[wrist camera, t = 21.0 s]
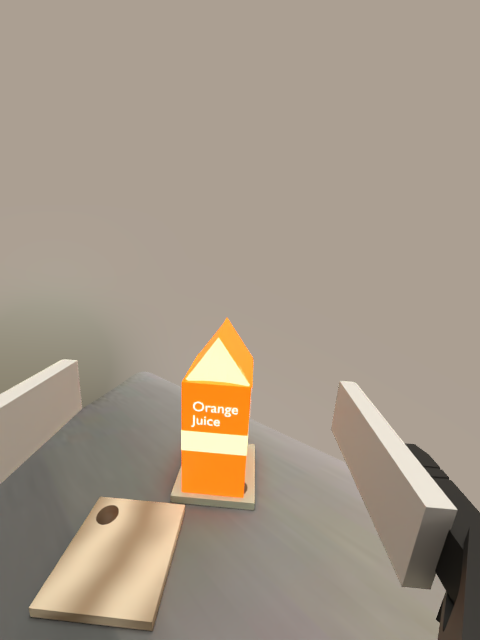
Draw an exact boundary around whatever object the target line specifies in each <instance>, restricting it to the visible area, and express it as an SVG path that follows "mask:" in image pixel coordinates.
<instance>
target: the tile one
mask: <svg viewBox="0 0 480 640" xmlns="http://www.w3.org/2000/svg"><path fill="white" fill-rule="evenodd" d="M184 514H185V505H181V504H170V503H160V502H150V501H139V500H129V499H118V498H108V497H100V498H99V500H98V501H97V503H96V504H95V506H94V507H93V509H92V510H91V512H90V514H89V515H88V517H87V518H86V520H85V521H84V523H83V524H82V526H81V528H80V529H79V531H78V532H77V534H76V535H75V537H74V538H73V540H72V541H71V543H70V545H69V546H68V548H67V549H66V551H65V552H64V554H63V555H62V557H61V559H60V560H59V562H58V563H57V565H56V566H55V568H54V569H53V571H52V573H51V574H50V576H49V577H48V579H47V580H46V582H45V583H44V585H43V587H42V588H41V590H40V591H39V593H38V594H37V596H36V597H35V599H34V601H33V602H32V604H31V605H30V607H29V612H30V617H36V618H45V619H54V620H62V621H71V622H79V623H88V624H97V625H105V626H114V627H122V628H131V629H140V630H148V631H153V627H154V623H155V620H156V616H157V612H158V609H159V605H160V601H161V598H162V594H163V590H164V587H165V583H166V579H167V576H168V572H169V569H170V565H171V561H172V558H173V554H174V550H175V547H176V543H177V539H178V536H179V532H180V528H181V525H182V521H183V517H184Z"/></svg>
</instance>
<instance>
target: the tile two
mask: <svg viewBox="0 0 480 640" xmlns="http://www.w3.org/2000/svg"><path fill="white" fill-rule="evenodd" d="M171 502H172V503H183V504H193V505H204V506H214V507H225V508H235V509H246V510H254V505H255V444H247V456H246V467H245V482H244V496H243V498H239V497H229V496H218V495H208V494H198V493H187V492H182V465H181V468H180V470H179V473H178V476H177V479H176V482H175V485H174V487H173V490H172V493H171Z"/></svg>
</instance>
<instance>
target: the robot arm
mask: <svg viewBox="0 0 480 640" xmlns="http://www.w3.org/2000/svg"><path fill="white" fill-rule="evenodd" d="M81 409H82V402H81V392H80V382H79V372H78V361H77V360H65V359H63V360H60V361H59V362H57V363H55V364H54V365H52V366H50V367H48V368H46V369H44V370H43V371H41V372H39V373H37V374H36V375H34V376H32V377H30V378H29V379H27V380H25V381H23V382H21V383H20V384H18V385H16V386H14V387H12V388H11V389H9V390H7V391H5V392H4V393H2V394H0V484H1V483H2V482H3V481H4V480H5V479H6V478H7V477H8V476H9V475H10V474H12V473H13V472H14V471H15V470H16V469H17V468H18V467H19V466H20V465H21V464H22V463H24V462H25V461H26V460H27V459H28V458H29V457H30V456H31V455H32V454H33V453H34V452H36V451H37V450H38V449H39V448H40V447H41V446H42V445H43V444H44V443H45V442H46V441H48V440H49V439H50V438H51V437H52V436H53V435H54V434H55V433H56V432H57V431H58V430H59V429H61V428H62V427H63V426H64V425H65V424H66V423H67V422H68V421H69V420H70V419H71V418H73V417H74V416H75V415H76V414H77V413H78V412H79V411H80V410H81ZM331 430H332V432H333V434H334V437H335V439H336V441H337V443H338V445H339V448H340V450H341V452H342V454H343V456H344V459H345V461H346V463H347V466H348V468H349V470H350V472H351V475H352V477H353V479H354V481H355V483H356V486H357V488H358V490H359V492H360V495H361V497H362V499H363V501H364V503H365V506H366V508H367V510H368V512H369V515H370V517H371V519H372V521H373V523H374V526H375V528H376V530H377V532H378V535H379V537H380V539H381V541H382V543H383V546H384V548H385V550H386V552H387V555H388V557H389V559H390V561H391V564H392V566H393V568H394V570H395V572H396V575H397V577H398V579H399V581H400V584H401V586H402V587H411V588H421V589H431V586H432V583H433V580H434V577H435V574H437V575H438V577H439V579H440V581H441V582H442V584H443V586H444V588H445V589H446V593H445V596H444V598H443V601H442V604H441V607H440V609H439V612H438V615H437V618H436V620H437V621H438V622H440V627H439V634H438V640H480V513H479V511H478V510H477V509H476V508H475V507H474V506H473V505H472V503H471V502H470V501H469V500H468V499H467V498H466V496H465V495H464V494H463V493H462V492H461V491H460V490H459V489H458V487H457V486H456V485H455V484H454V483H453V482H452V481H451V480H449V477H448V476H447V475H446V474H445V473H444V471H442V470H440V467H439V466H438V465H437V463H436V462H435V461H434V460H433V459H432V458H431V457H430V456H429V455H428V454H427V453H426V452H424V451H423V450H422V449H420V448H419V447H417V446H416V445H414V444H405V443H404V442H403V441H402V440H401V439H400V437H399V436H398V435H397V434H396V432H395V431H394V430H393V429H392V427H391V426H390V425H389V424H388V422H387V421H386V420H385V419H384V417H383V416H382V415H381V414H380V412H379V411H378V410H377V409H376V407H375V406H374V405H373V404H372V402H371V401H370V400H369V399H368V397H367V396H366V395H365V394H364V392H363V391H362V390H361V389H360V387H359V386H358V385H357V384H356V382H348V381H339V387H338V393H337V398H336V404H335V411H334V416H333V422H332V427H331Z"/></svg>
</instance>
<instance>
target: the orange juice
mask: <svg viewBox="0 0 480 640" xmlns="http://www.w3.org/2000/svg"><path fill="white" fill-rule="evenodd" d="M252 383H253V357H252V356H251V354H250V353H249V351H248V349H247V348H246V346H245V345H244V343H243V342H242V340H241V339H240V337H239V335H238V334H237V332H236V331H235V329H234V327H233V326H232V324H231V323H230V321H229V320H228V318H226V320H225V322H224V323H223V325H222V326H221V327H220V328H219V330H218V331H217V332H216V334H215V335H214V336H213V337H212V338H211V340H210V341H209V342H208V344H207V345H206V346H205V347H204V349H203V350H202V351H201V352H200V353H199V354H198V356H197V357H196V359H195V361H194V362H193V364H192V366H191V367H190V369H189V371H188V372H187V374H186V376H185V378H184V379H183V381H182V430H181V450H182V492H187V493H198V494H208V495H218V496H229V497H239V498H243V496H244V482H245V467H246V456H247V443H248V425H249V409H250V395H251V387H252V385H253V384H252Z"/></svg>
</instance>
